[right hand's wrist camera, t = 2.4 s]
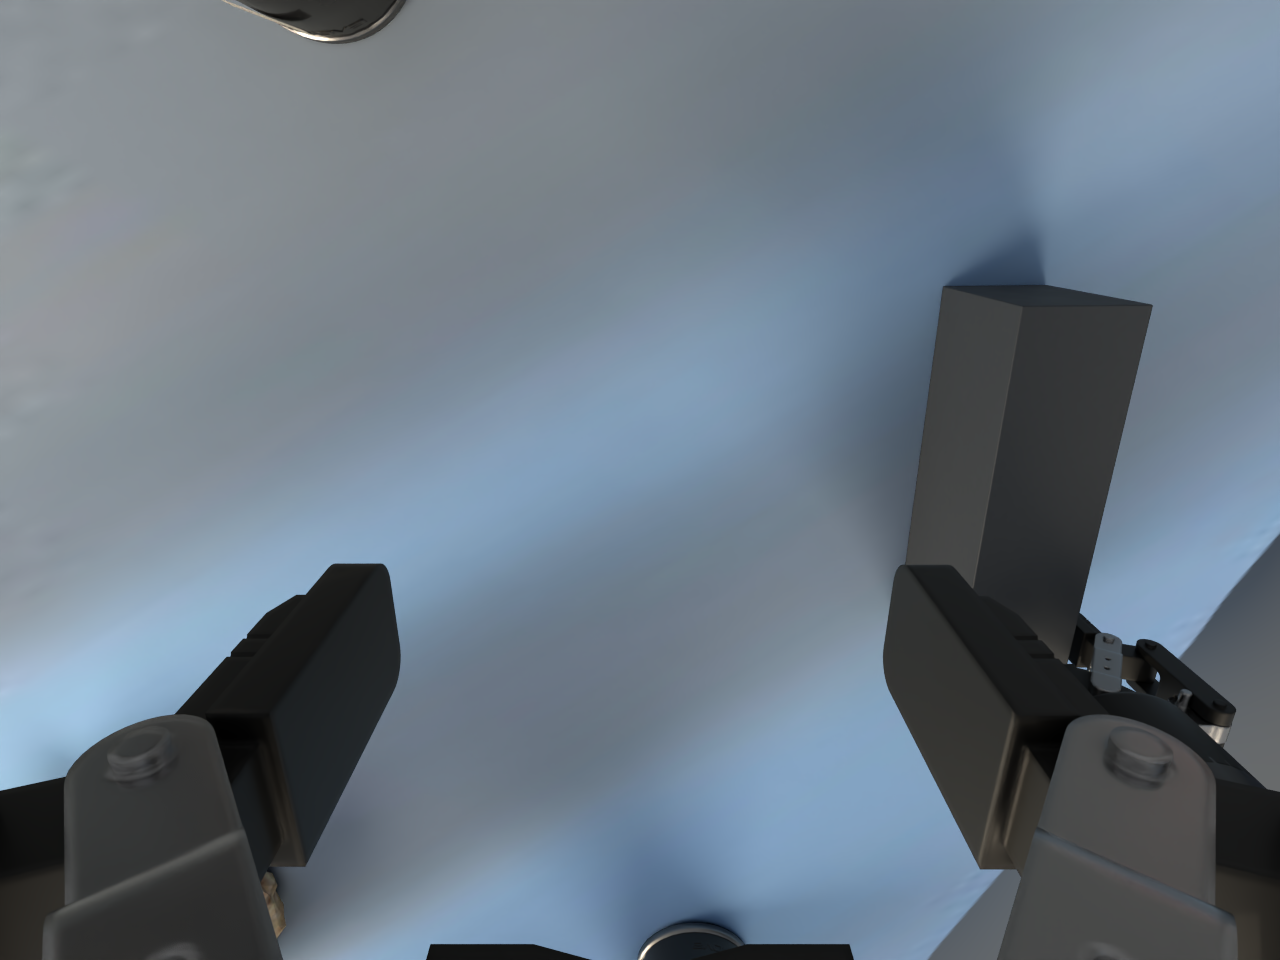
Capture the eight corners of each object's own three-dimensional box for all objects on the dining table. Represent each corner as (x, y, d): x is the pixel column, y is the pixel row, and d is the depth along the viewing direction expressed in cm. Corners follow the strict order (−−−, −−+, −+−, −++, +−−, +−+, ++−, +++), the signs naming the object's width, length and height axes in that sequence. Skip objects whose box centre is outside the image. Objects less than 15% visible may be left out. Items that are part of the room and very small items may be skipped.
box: (942, 286, 40) (1022, 305, 32) (1046, 284, 40) (1153, 304, 32) (897, 620, 48) (951, 707, 40) (984, 619, 48) (1057, 707, 40)
